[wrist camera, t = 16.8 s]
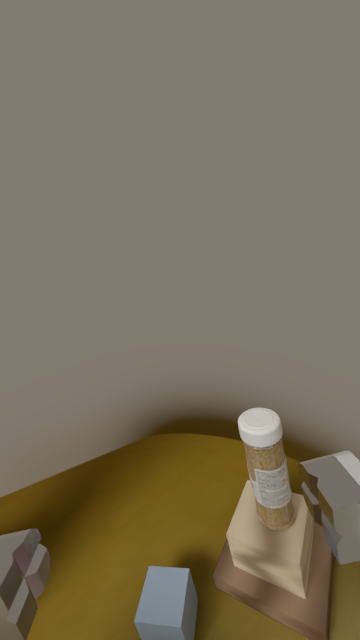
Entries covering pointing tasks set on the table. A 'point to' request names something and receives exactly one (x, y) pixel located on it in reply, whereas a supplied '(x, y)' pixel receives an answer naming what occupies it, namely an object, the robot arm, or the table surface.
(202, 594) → the table surface
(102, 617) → the table surface
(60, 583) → the table surface
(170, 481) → the table surface
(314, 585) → the block stand
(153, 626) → the block
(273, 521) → the spice jar
